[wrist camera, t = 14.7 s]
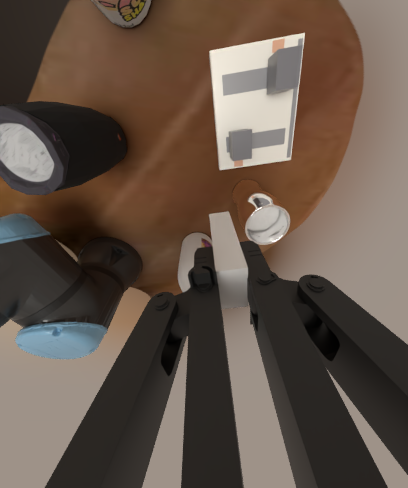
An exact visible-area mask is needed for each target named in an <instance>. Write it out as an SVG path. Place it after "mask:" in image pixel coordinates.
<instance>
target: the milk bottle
mask: <svg viewBox="0 0 408 488" xmlns="http://www.w3.org/2000/svg"><path fill="white" fill-rule="evenodd" d="M210 246H213V245H212V240H211V239H210V238H209V237H208V236H207V235H205V234H203V233H198V232H196V233H192V234H189V235H188V236H186V237H185V239H184V240H183V243H182V248H181V254H180V260H179V267H178V282H179V286H180V288H181V290H182V292H185V291H187V290H188V289H189V288H190V283H189V279H188V272H189V271H190V270H191V269H192V268H193V267H194V253H195V251H196V250H197V248H202V247H210Z"/></svg>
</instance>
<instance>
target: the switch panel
mask: <svg viewBox="0 0 408 488" xmlns="http://www.w3.org/2000/svg"><path fill="white" fill-rule="evenodd" d="M304 37H305V33H301V34H296V35H291V36H285V37H280V38H275V39H270V40H264V41H259V42H254V43H248V44H243V45H238V46H232V47H227V48H222V49H217V50H211V51H210V53H209V61H210V72H211V84H212V95H213V107H214V118H215V130H216V141H217V153H218V164H219V169H220V170H225V169H232V168H239V167H246V166H253V165H259V164H266V163H273V162H280V161H287V160H291V154H292V145H293V136H294V127H295V118H296V109H297V100H298V91H299V85H298V87H297V88H294V89H292V90H289V91H286V92H281V93H275V94H269V95H267V75H268V59H269V58H270V57H271V56H272V55H273V54H274V53H275V52H276V51H277V50H278V49H283V48H288V47H294V46H299V45H303V46H304ZM302 55H303V49H302ZM301 64H302V58H301ZM300 73H301V67H300ZM299 82H300V76H299ZM241 129H252V159H245V160H238V161H232V159H231V158H230V151H229V131H235V130H241Z"/></svg>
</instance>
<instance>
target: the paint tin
mask: <svg viewBox="0 0 408 488" xmlns="http://www.w3.org/2000/svg"><path fill="white" fill-rule="evenodd" d="M91 1H92V2H93V3H94V4H95V5H96V7H97V8H98V9H99V10H100V11H101V12H102V13H103V14H104V15H105V16H106V17H107V18H108V19H109V20H110V21H111V22H112V23H114V24H116V25H118V26H121V27H133V26H135V25H137V24H139V23H140V22H141V21H142V20H143V19H144V18H145V16H146V15H147V12H148V9H149V7H150V4H151V0H91Z"/></svg>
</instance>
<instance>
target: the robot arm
mask: <svg viewBox="0 0 408 488" xmlns="http://www.w3.org/2000/svg"><path fill="white" fill-rule="evenodd" d="M209 218H210V227H211V236H212V245H213V246H210V247H202V248H197V250H196V251H195V253H194V267H193V268H192V269H191V270H190V271H189V272H188V279H189V283H190V288H189V289H188V290H187V291H185V292H183V293H181V294H178V295H176V296H174V295H173V294H172V293H169V292H162V293H159V294H156V295H155V296H154V297H152V298H151V300H150V301H149V302H148V304H147V306H146V307H145V309H144V311H143V313H142V315H141V316H140V318H139V320H138V322H137V324H136V326H135V327H134V329H133V331H132V333H131V335H130V336H129V338H128V340H127V342H126V343H125V345H124V347H123V349H122V350H121V352H120V354H119V356H118V358H117V359H116V361H115V363H114V365H113V367H112V369H111V370H110V372H109V374H108V376H107V377H106V379H105V381H104V383H103V385H102V387H101V388H100V390H99V392H98V393H97V395H96V397H95V399H94V401H93V402H92V404H91V406H90V408H89V410H88V411H87V413H86V415H85V417H84V419H83V420H82V422H81V424H80V426H79V427H78V429H77V431H76V433H75V435H74V436H73V438H72V440H71V442H70V444H69V445H68V447H67V449H66V451H65V453H64V455H63V456H62V458H61V460H60V461H59V463H58V465H57V467H56V469H55V470H54V472H53V474H52V476H51V478H50V479H49V481H48V483H47V485H46V487H45V488H142V485H143V482H144V478H145V475H146V471H147V468H148V465H149V462H150V458H151V455H152V452H153V448H154V445H155V441H156V438H157V434H158V431H159V428H160V425H161V421H162V418H163V414H164V411H165V408H166V404H167V401H168V398H169V394H170V391H171V387H172V384H173V381H174V378H175V374H176V371H177V368H178V364H179V361H180V357H181V354H182V351H183V347H184V343H185V341H186V337H187V336H188V356H187V377H186V378H187V379H186V398H185V419H184V440H183V441H184V442H183V462H182V482H181V488H244V485H243V477H242V469H241V462H240V453H239V447H238V438H237V430H236V422H235V414H234V405H233V398H232V389H231V381H230V373H229V365H228V358H227V349H226V341H225V333H224V325H223V317H222V310H221V309H228V308H237V307H246V306H248V302H249V305H250V324H253V327H254V330H255V334H256V338H257V342H258V345H259V349H260V353H261V357H262V360H263V364H264V368H265V372H266V375H267V379H268V383H269V387H270V390H271V394H272V398H273V402H274V405H275V409H276V413H277V417H278V420H279V424H280V427H281V432H282V435H283V439H284V443H285V447H286V451H287V454H288V458H289V462H290V466H291V469H292V473H293V477H294V481H295V484H296V488H388V487H387V485H386V483H385V481H384V479H383V477H382V475H381V474H380V472H379V470H378V468H377V466H376V464H375V462H374V460H373V458H372V456H371V454H370V452H369V450H368V448H367V447H366V445H365V443H364V441H363V439H362V437H361V435H360V433H359V431H358V429H357V427H356V425H355V423H354V421H353V420H352V418H351V416H350V414H349V412H348V410H347V408H346V406H345V404H344V402H343V400H342V398H341V397H340V394H339V393H338V391H337V389H336V387H335V385H334V383H333V381H332V379H331V377H330V375H329V373H328V371H329V372H330V374H331V375H332V376H333V378H334V379H335V380H336V382H337V383H338V384H339V385H340V387H341V388H342V389H343V391H344V392H345V393H346V395H347V396H348V397H349V399H350V400H351V401H352V402H353V404H354V405H355V406H356V408H357V409H358V410H359V412H360V413H361V414H362V415H363V417H364V418H365V420H366V421H367V422H368V424H369V425H370V426H371V427H372V429H373V430H374V431H375V433H376V434H377V435H378V437H379V438H380V439H381V441H382V442H383V443H384V444H385V446H386V447H387V448H388V450H389V451H390V452H391V454H392V455H393V456H394V458H395V459H396V460H397V461H398V463H399V464H400V466H401V467H402V468H403V469H404V471H405V472H406V473H407V475H408V345H407V344H406V343H405V342H404V341H402V340H401V339H400V338H398V337H397V336H396V335H395V334H394V333H392V332H391V331H390V330H389V329H388V328H386V327H385V326H384V325H383V324H381V323H380V322H379V321H378V320H377V319H375V318H374V317H373V316H371V315H370V314H369V313H368V312H367V311H365V310H364V309H363V308H362V307H361V306H359V305H358V304H357V303H356V302H354V301H353V300H352V299H351V298H349V297H348V296H347V295H346V294H344V293H343V292H342V291H341V290H339V289H338V288H337V287H336V286H335V285H333V284H332V283H331V282H330V281H328V280H327V279H325V278H323V277H320V276H318V275H305V276H303V277H301V278H300V280H299V282H297V281H288V280H283V279H281V278H279V277H278V276H277V275H276V274H275V273H273V272H272V271H271V270H270V268H269V267H268V264H267V262H266V261H265V258H264V256H263V255H262V252H261V251H260V248H259V246H258V244H256V243H255V242H254V241H245V242H239V240H238V237H237V234H236V231H235V229H234V226H233V223H232V220H231V217H230V214H229V211H228V212H221V213H214V214H209ZM50 234H51V233H50V232H48V231H46V230H45V229H44V228H43V227H42V226H41V225H40V224H38V223H37V222H36V221H35V220H34V219H33V218H32V217H30V216H28V215H26V214H20V213H16V214H11V215H7V216H3V217H0V327H1V326H3V325H4V324H5V323H6V322H7V321H9V320H10V319H11V320H13V321H14V322H16V323H17V324H19V325H21V326H22V327H23V329H21V330H20V331H19V332H18V335H17V337H16V343H17V344H18V347H19V348H21V349H22V350H24V351H26V352H28V353H31V354H34V355H37V356H41V357H46V358H53V359H75V358H81V357H84V356H87V355H89V354H91V353H92V352H94V351H95V350H96V349H97V347H98V346H99V344H100V342H101V340H102V338H103V337H104V335H105V334H106V333H107V330H108V327H109V325H110V322H111V320H112V318H113V316H114V314H115V311H116V309H117V307H118V305H119V302H120V300H121V298H122V296H123V293H124V292H125V291H126V290H127V289H128V288H129V287H130V285H132V284H133V283H134V282H135V281H136V280H137V279H138V277H139V275H140V272H141V270H142V261H141V258H140V256H139V254H138V253H137V252H136V251H135V250H134V249H133V248H132V247H131V246H130V245H128V244H127V243H125V242H123V241H121V240H118V239H114V238H108V237H102V238H96V239H93V240H91V241H90V242H88V243H87V244H86V245H85V246H84V247H83V248H82V250H81V251H80V253H79V256H78V261H77V262H76V261H75V260H74V259H73V258H72V257H71V256H70V255H69V254H68V253H67V252H66V251H65V250H64V249H63V248H62V247H61V245H60V244H59V243H58V242H57V241H56V240H55V239H54V238H53V237H52V236H51V235H50ZM326 368H327V369H326ZM327 370H328V371H327Z"/></svg>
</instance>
